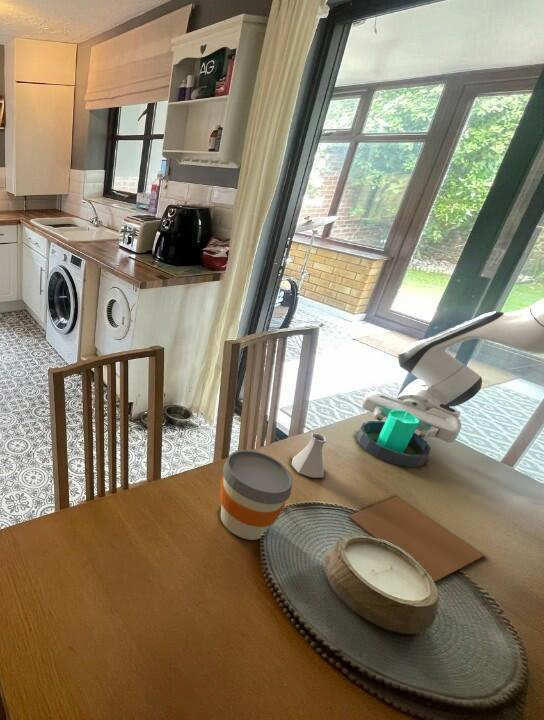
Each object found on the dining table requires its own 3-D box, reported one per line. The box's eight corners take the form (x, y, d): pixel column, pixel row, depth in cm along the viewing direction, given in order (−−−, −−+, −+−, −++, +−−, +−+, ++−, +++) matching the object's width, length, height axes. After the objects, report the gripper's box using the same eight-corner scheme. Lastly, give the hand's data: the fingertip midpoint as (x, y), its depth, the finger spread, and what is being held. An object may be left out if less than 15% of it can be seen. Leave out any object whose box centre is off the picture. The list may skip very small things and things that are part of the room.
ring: (437, 458, 107) (443, 448, 105) (401, 472, 102) (406, 462, 101) (379, 426, 119) (383, 416, 118) (344, 437, 115) (348, 427, 113)
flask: (295, 475, 102) (306, 443, 97) (287, 456, 108) (298, 425, 104) (328, 481, 100) (341, 449, 96) (318, 461, 106) (330, 430, 102)
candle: (376, 437, 115) (392, 402, 109) (403, 446, 111) (422, 410, 106) (375, 448, 110) (392, 412, 105) (403, 458, 107) (422, 421, 102)
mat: (483, 556, 82) (484, 555, 82) (432, 583, 77) (433, 581, 77) (396, 497, 95) (396, 496, 95) (348, 516, 91) (348, 515, 90)
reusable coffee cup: (242, 493, 97) (257, 443, 90) (289, 536, 86) (309, 483, 80) (199, 508, 93) (212, 457, 86) (242, 555, 82) (260, 501, 76)
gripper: (373, 382, 121) (357, 398, 113) (468, 415, 106) (457, 436, 99) (366, 400, 124) (350, 417, 116) (458, 434, 109) (446, 456, 102)
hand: (400, 426), depth 107 cm, fingers open, 8 cm apart
